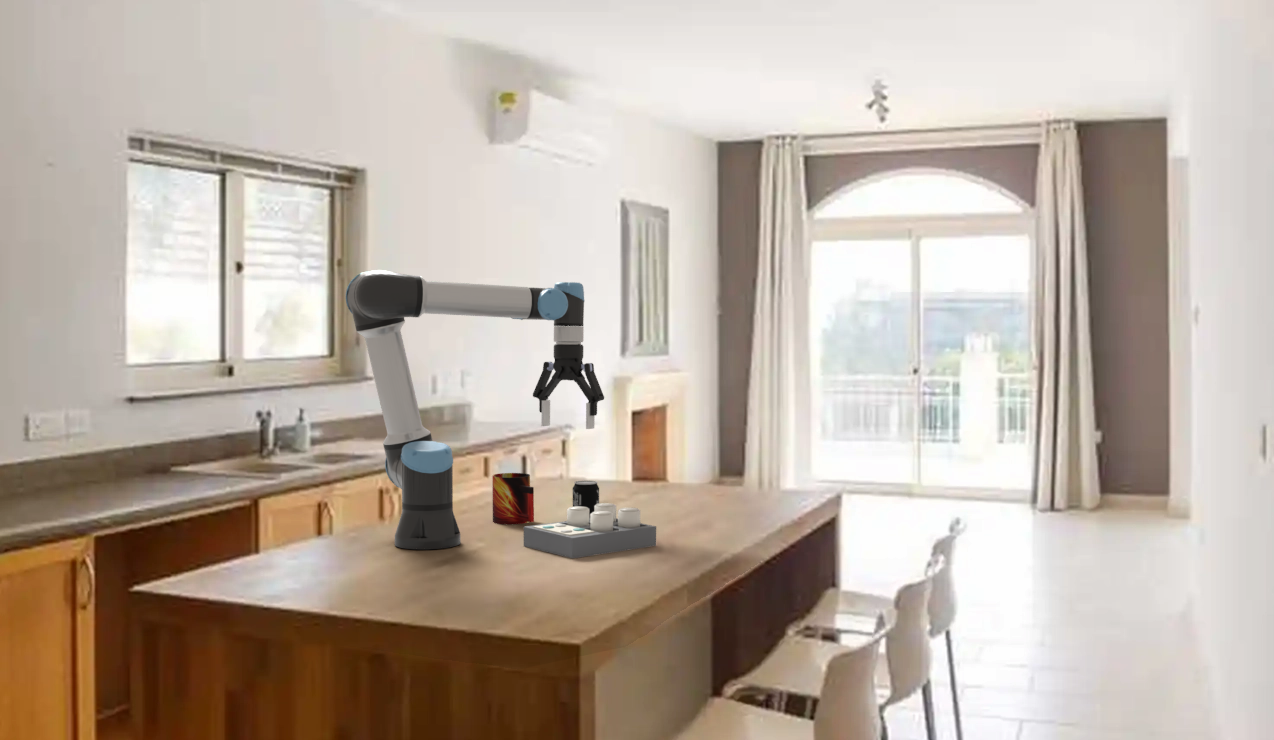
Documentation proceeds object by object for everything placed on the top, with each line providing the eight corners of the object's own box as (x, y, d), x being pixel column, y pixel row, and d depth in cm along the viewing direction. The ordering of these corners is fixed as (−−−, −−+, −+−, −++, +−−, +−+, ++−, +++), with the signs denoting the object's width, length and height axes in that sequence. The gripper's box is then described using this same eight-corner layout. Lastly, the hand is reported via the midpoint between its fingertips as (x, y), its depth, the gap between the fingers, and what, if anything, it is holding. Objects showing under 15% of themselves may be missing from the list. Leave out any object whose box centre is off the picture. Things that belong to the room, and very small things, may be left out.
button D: (627, 534, 292) (627, 511, 292) (613, 531, 296) (613, 508, 296) (644, 532, 295) (644, 509, 295) (630, 529, 299) (630, 506, 299)
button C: (599, 538, 287) (599, 515, 286) (585, 535, 291) (585, 512, 291) (617, 535, 290) (617, 512, 290) (603, 532, 294) (603, 510, 294)
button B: (603, 529, 299) (603, 506, 299) (590, 526, 303) (589, 504, 303) (620, 526, 302) (620, 504, 302) (607, 524, 306) (607, 502, 306)
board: (572, 558, 279) (572, 535, 279) (523, 546, 294) (523, 524, 294) (656, 545, 294) (656, 524, 294) (605, 534, 309) (605, 514, 309)
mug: (532, 526, 320) (532, 479, 320) (485, 523, 326) (485, 476, 326) (551, 521, 329) (551, 475, 328) (505, 517, 335) (505, 472, 334)
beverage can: (595, 532, 311) (595, 484, 311) (569, 532, 313) (569, 483, 312) (601, 528, 318) (601, 480, 317) (576, 527, 319) (576, 479, 318)
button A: (575, 533, 294) (575, 510, 293) (562, 530, 298) (562, 507, 298) (593, 530, 297) (593, 508, 297) (580, 527, 301) (580, 505, 301)
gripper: (618, 344, 318) (617, 428, 319) (537, 342, 331) (536, 423, 332) (602, 344, 312) (601, 431, 313) (519, 342, 325) (519, 425, 326)
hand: (567, 427), depth 323 cm, fingers open, 13 cm apart
